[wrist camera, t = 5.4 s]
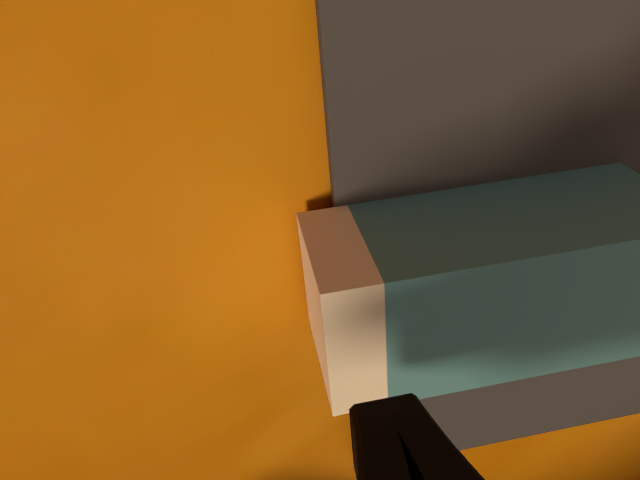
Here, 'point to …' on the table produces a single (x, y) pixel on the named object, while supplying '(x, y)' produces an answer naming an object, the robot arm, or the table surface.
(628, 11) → the charcoal mat
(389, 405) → the robot arm
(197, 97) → the table surface
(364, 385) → the teal block
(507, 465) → the table surface
